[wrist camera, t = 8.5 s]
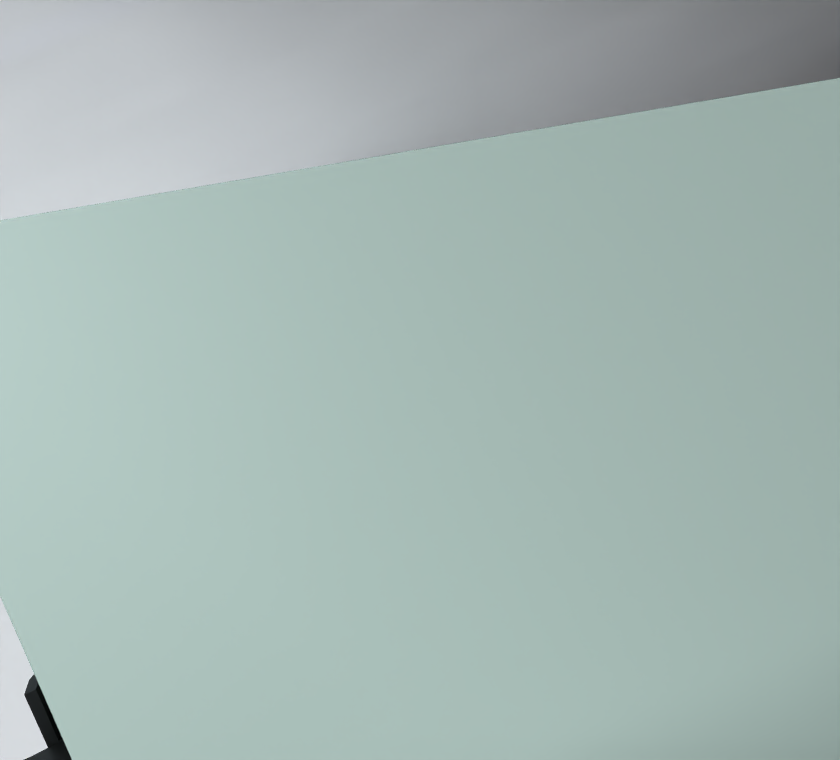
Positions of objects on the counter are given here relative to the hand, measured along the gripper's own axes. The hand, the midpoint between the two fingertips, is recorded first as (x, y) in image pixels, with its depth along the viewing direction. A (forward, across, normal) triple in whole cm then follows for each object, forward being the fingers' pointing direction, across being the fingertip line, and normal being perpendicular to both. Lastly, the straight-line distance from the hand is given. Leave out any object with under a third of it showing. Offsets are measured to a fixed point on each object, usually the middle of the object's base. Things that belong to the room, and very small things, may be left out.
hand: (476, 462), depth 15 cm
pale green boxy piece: (+1, 0, 0) cm, 1 cm away
